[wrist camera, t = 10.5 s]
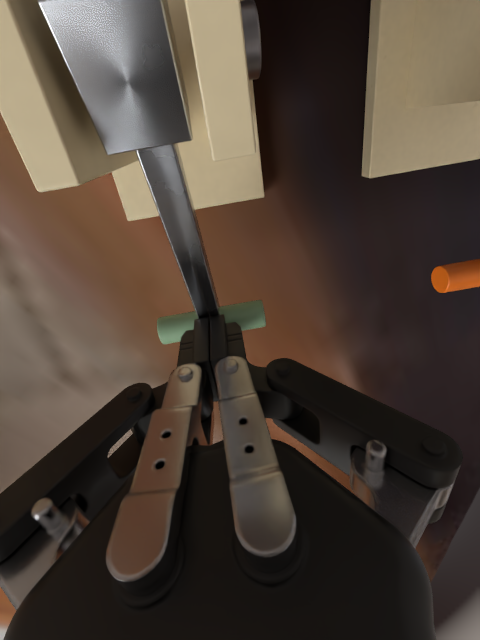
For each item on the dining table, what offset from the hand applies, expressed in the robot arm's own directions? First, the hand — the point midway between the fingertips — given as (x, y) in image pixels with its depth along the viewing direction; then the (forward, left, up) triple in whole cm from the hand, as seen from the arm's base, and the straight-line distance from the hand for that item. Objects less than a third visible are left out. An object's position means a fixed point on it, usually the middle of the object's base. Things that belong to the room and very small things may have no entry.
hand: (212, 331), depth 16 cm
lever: (-6, 0, 0) cm, 6 cm away
